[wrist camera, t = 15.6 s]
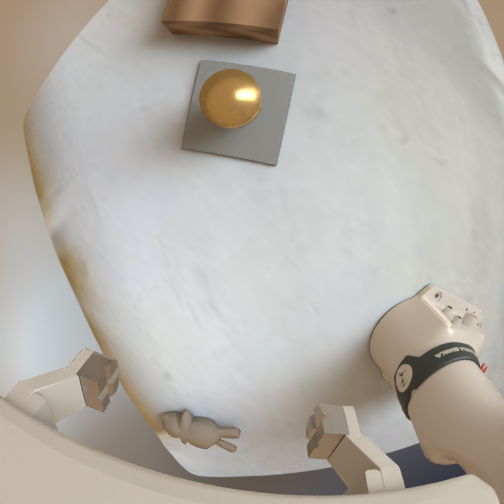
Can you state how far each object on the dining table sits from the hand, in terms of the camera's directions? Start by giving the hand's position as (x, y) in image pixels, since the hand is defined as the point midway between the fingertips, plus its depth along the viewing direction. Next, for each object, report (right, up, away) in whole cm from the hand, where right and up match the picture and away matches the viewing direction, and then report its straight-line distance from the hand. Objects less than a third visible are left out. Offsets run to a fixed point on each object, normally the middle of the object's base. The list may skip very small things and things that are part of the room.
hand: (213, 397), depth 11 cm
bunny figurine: (-8, -28, +41) cm, 50 cm away
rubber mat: (0, +23, +23) cm, 33 cm away
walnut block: (-1, +40, +18) cm, 43 cm away
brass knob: (0, +23, +23) cm, 32 cm away
